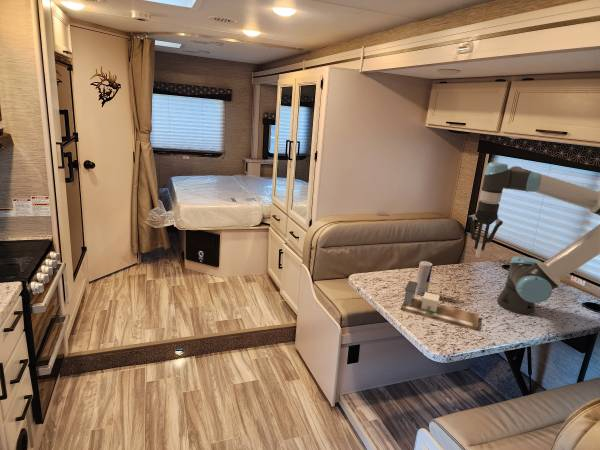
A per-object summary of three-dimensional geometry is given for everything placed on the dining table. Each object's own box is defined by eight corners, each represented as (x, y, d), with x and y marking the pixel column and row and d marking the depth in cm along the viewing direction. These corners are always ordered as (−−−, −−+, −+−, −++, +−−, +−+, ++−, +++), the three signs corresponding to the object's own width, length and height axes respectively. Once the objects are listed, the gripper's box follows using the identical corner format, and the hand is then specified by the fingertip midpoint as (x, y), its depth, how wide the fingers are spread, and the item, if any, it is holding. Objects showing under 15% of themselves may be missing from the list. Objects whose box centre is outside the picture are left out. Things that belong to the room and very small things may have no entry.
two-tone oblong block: (415, 298, 174) (417, 282, 172) (411, 307, 166) (414, 291, 163) (406, 296, 176) (409, 280, 173) (402, 305, 167) (404, 288, 165)
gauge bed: (478, 317, 165) (478, 314, 164) (477, 330, 154) (478, 327, 154) (406, 298, 176) (406, 295, 176) (400, 309, 166) (401, 306, 165)
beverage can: (427, 296, 180) (433, 266, 176) (415, 294, 181) (420, 264, 177) (426, 291, 185) (431, 261, 181) (414, 289, 186) (419, 260, 182)
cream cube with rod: (437, 306, 168) (439, 295, 167) (434, 315, 160) (437, 304, 159) (423, 302, 171) (425, 291, 169) (419, 311, 162) (421, 300, 161)
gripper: (507, 202, 158) (494, 257, 165) (472, 197, 163) (461, 250, 170) (507, 206, 151) (494, 263, 158) (471, 200, 156) (460, 256, 163)
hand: (477, 256), depth 164 cm, fingers closed
